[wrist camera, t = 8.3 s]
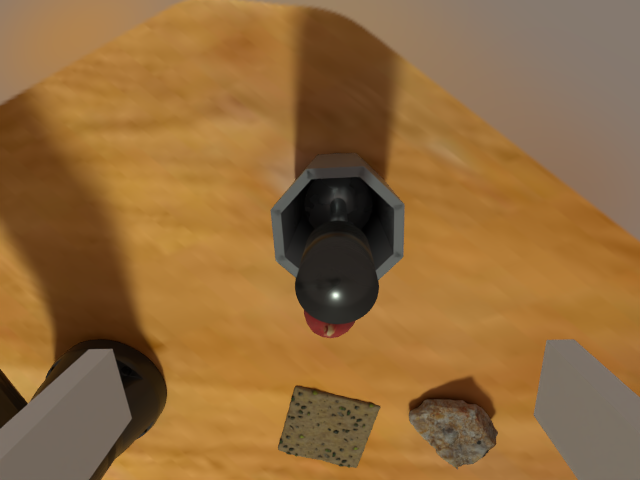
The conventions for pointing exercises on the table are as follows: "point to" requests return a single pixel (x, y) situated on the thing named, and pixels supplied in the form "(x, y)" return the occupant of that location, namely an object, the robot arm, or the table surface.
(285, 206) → the press carafe
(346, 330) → the onion
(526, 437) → the table surface
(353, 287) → the plunger
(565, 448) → the robot arm
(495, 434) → the rock
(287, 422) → the grey porous flat square
